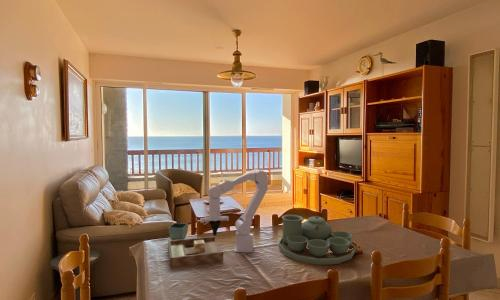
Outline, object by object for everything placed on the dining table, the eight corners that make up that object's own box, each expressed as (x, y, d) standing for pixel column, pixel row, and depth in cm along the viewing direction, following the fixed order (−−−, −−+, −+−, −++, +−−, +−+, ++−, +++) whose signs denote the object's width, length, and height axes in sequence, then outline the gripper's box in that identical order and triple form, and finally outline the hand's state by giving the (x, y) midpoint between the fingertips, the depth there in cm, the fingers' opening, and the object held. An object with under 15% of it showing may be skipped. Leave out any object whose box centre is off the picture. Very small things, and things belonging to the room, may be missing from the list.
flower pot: (182, 243, 174) (182, 228, 174) (168, 242, 176) (167, 227, 175) (188, 238, 183) (188, 223, 182) (174, 237, 185) (174, 222, 184)
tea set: (294, 269, 143) (294, 234, 142) (270, 239, 182) (271, 212, 181) (371, 262, 152) (372, 229, 151) (333, 235, 191) (333, 209, 190)
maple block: (203, 247, 163) (203, 239, 162) (204, 250, 158) (204, 243, 158) (193, 248, 161) (193, 240, 161) (194, 251, 156) (194, 244, 156)
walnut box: (214, 244, 174) (214, 236, 174) (223, 261, 151) (223, 252, 151) (168, 248, 167) (168, 240, 167) (170, 267, 144) (170, 258, 144)
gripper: (201, 212, 155) (201, 238, 155) (230, 210, 159) (230, 236, 160) (199, 208, 161) (199, 234, 162) (227, 206, 166) (227, 231, 166)
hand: (214, 234), depth 161 cm, fingers closed
